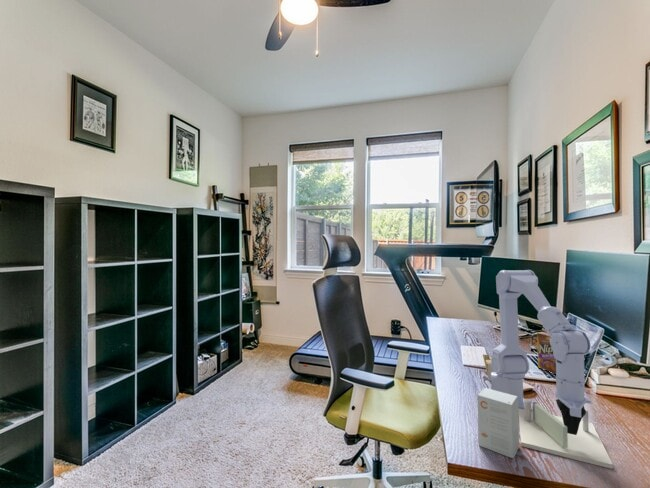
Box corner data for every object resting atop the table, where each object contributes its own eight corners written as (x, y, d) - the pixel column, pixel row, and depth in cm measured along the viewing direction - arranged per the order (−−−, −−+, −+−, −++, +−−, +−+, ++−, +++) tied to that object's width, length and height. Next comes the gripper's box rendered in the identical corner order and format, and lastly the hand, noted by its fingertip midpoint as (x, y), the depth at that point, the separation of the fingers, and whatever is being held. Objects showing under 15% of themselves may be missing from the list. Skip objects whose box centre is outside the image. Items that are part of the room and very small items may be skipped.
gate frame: (521, 445, 82) (520, 420, 82) (518, 411, 100) (517, 390, 100) (613, 469, 73) (612, 440, 74) (592, 426, 91) (591, 403, 91)
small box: (519, 447, 82) (518, 396, 82) (513, 459, 77) (512, 404, 77) (485, 435, 87) (484, 386, 87) (477, 445, 83) (477, 394, 83)
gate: (532, 419, 92) (532, 401, 92) (536, 419, 92) (535, 402, 92) (563, 447, 79) (563, 427, 79) (567, 447, 79) (567, 427, 79)
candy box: (537, 368, 135) (536, 332, 136) (544, 367, 137) (544, 331, 137) (558, 376, 127) (557, 337, 127) (566, 375, 128) (565, 336, 128)
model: (488, 382, 123) (488, 362, 123) (481, 371, 133) (480, 353, 134) (497, 382, 122) (497, 362, 123) (489, 372, 133) (489, 353, 133)
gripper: (597, 393, 73) (598, 453, 73) (583, 371, 86) (584, 423, 85) (559, 386, 76) (560, 444, 76) (551, 367, 89) (552, 416, 89)
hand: (570, 432), depth 81 cm, fingers closed
